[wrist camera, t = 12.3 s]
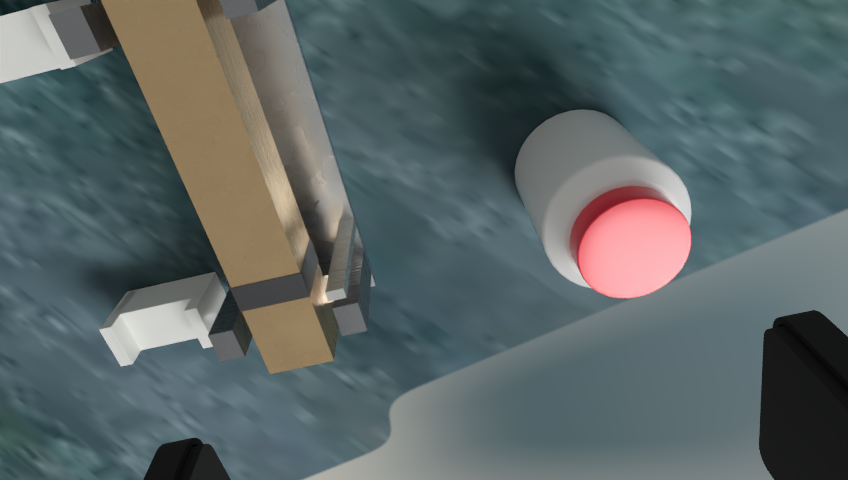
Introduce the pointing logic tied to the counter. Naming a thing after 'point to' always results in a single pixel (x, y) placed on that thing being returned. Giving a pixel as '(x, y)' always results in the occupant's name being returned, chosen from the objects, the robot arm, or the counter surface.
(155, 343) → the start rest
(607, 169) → the pill bottle
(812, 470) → the robot arm
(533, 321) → the counter surface
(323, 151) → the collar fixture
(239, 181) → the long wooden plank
